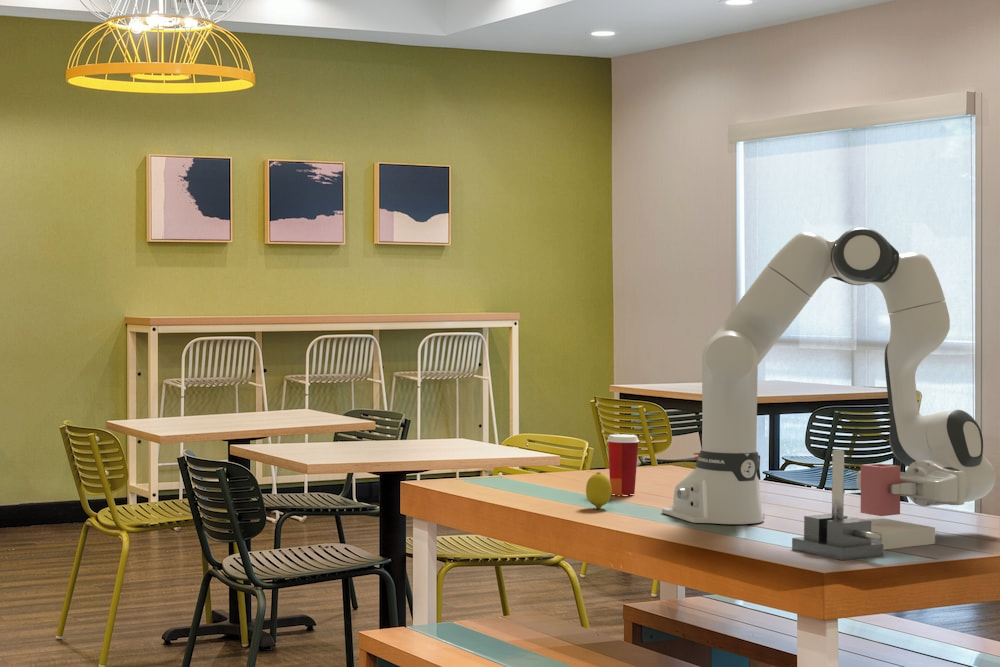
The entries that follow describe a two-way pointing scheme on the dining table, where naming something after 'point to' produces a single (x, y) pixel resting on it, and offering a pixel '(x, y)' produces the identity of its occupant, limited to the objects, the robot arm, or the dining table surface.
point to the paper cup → (622, 463)
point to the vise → (838, 526)
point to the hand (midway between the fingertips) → (877, 487)
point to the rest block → (901, 533)
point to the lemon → (598, 490)
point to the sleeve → (879, 489)
